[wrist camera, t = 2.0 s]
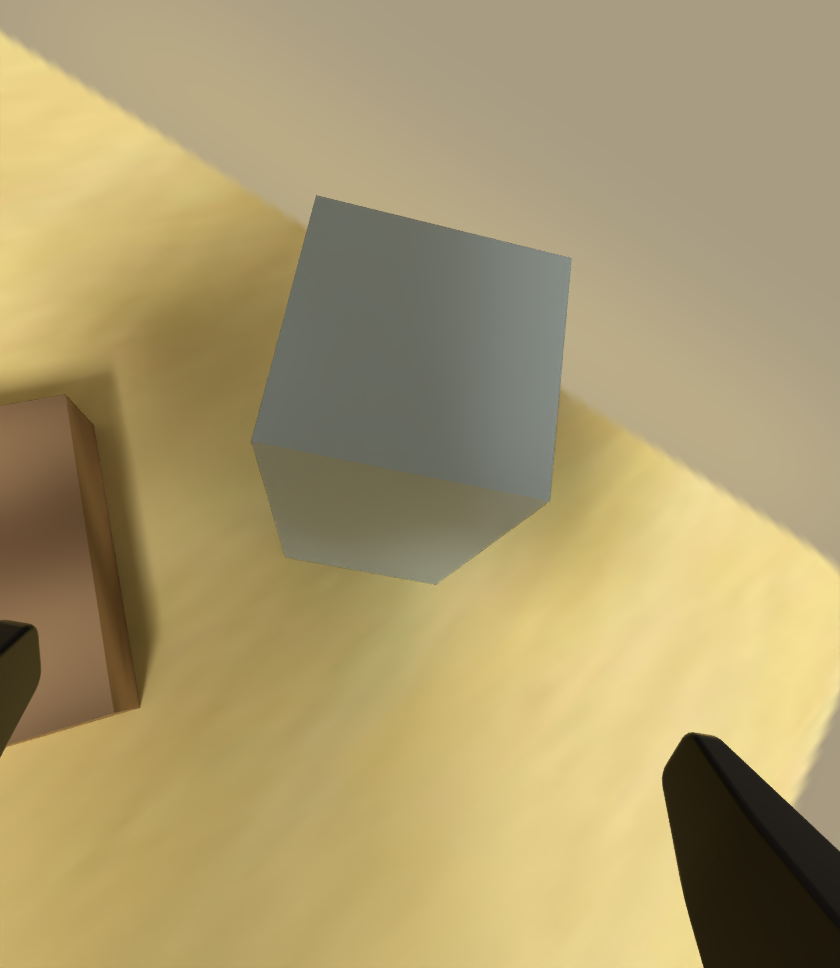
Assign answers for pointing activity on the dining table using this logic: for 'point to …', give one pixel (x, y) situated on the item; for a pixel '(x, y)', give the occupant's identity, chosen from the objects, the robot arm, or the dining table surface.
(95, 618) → the walnut block
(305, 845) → the dining table surface
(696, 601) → the dining table surface
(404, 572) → the slate block
